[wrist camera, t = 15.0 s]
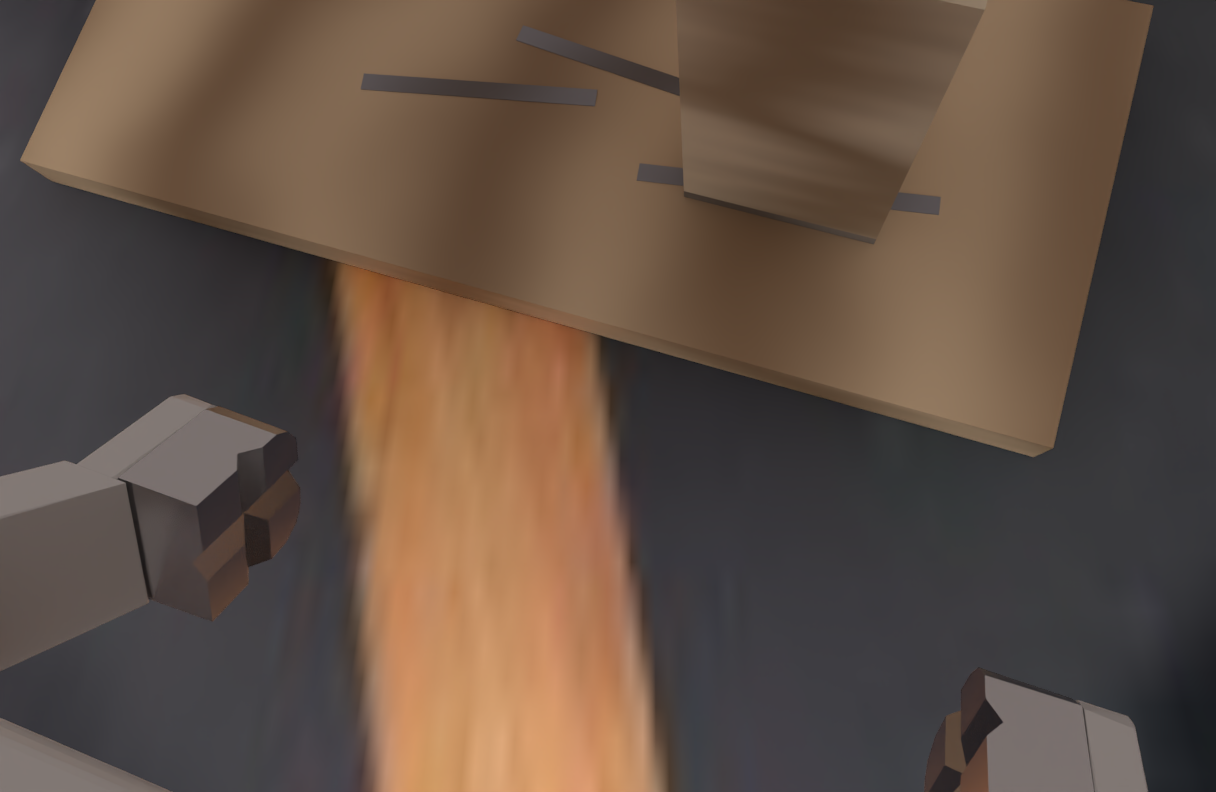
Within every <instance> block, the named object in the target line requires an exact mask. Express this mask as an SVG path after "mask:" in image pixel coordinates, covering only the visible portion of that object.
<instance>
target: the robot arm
mask: <svg viewBox="0 0 1216 792" xmlns="http://www.w3.org/2000/svg"><path fill="white" fill-rule="evenodd" d="M297 461H298V450H297V441H296V437H294V436H293V435H291V434H290V433H289V432H287V431H285V430H282V429H279V428H276V427H274V426H271V425H268V424H266V423H263V422H260V421H258V420H255V419H252V418H250V417H247V416H244V415H241V414H239V413H236V412H233V411H231V410H228V409H225V408H223V407H220V406H218V407H217V406H214V405H212V404H209V403H206V402H204V401H201V400H199V399H196V398H193V397H191V396H188V395H185V394H182V395H176V396H171V397H169V398H168V399H166V400H165V401H163V402H162V403H161V404H159V405H158V406H157V407H155V408H154V409H152V410H151V411H150V412H148V413H147V414H145V415H144V416H143V417H141V418H140V419H139V420H137V421H136V422H134V423H133V424H132V425H130V426H129V427H127V428H126V429H125V430H123V431H122V432H121V433H119V434H118V435H116V436H115V437H114V438H112V439H111V440H109V441H108V442H107V443H105V444H104V445H103V446H101V447H100V448H98V449H97V450H96V451H94V452H93V453H91V454H90V455H89V456H87V457H86V458H85V459H83V460H82V461H80V462H79V463H78V464H74V463H71V462H68V461H62V462H58V463H54V464H50V465H46V466H41V467H37V468H33V469H29V470H25V471H21V472H17V473H13V474H9V475H5V476H1V477H0V671H2V670H4V669H6V668H8V667H10V666H13V665H15V664H17V663H19V662H21V661H24V660H26V659H28V658H30V657H32V656H34V655H37V654H39V653H41V652H43V651H45V650H48V649H50V648H52V647H54V646H56V645H58V644H61V643H63V642H65V641H67V640H69V639H72V638H74V637H76V636H78V635H80V634H82V633H85V632H87V631H89V630H91V629H93V628H95V627H98V626H100V625H102V624H104V623H106V622H109V621H111V620H113V619H115V618H117V617H119V616H122V615H124V614H126V613H128V612H130V611H133V610H135V609H137V608H139V607H141V606H143V605H146V604H148V602H149V600H148V599H150V600H153V601H156V602H159V603H161V604H164V605H167V606H170V607H173V608H175V609H178V610H181V611H184V612H187V613H189V614H192V615H195V616H198V617H201V618H204V619H206V620H209V621H212V622H213V621H214V620H215V618H216V617H217V616H218V615H219V614H220V613H221V612H222V611H223V610H224V609H225V608H226V607H227V606H228V605H229V604H230V603H231V601H232V600H233V599H234V598H235V597H236V596H237V595H238V594H239V593H240V592H241V591H242V590H243V589H244V588H245V587H246V586H247V584H248V577H249V567H250V566H253V565H255V564H258V563H261V562H264V561H267V560H269V559H272V558H273V556H274V555H275V554H276V553H277V552H278V551H279V550H280V549H281V548H282V546H283V545H284V544H285V543H286V541H287V539H288V538H289V536H290V534H291V532H292V530H293V528H294V526H295V524H296V522H297V518H298V513H299V508H300V487H299V486H298V484H297V483H296V481H295V479H294V478H293V476H292V475H291V473H290V472H289V470H288V469H289V468H290V467H291V466H292V465H293V464H294V463H295V462H297ZM0 792H172V791H169V790H167V789H165V788H162V787H160V786H158V785H155V784H153V783H151V782H148V781H146V780H144V779H141V778H139V777H137V776H134V775H132V774H130V773H127V772H125V771H123V770H120V769H118V768H116V767H113V766H111V765H109V764H106V763H104V762H102V761H100V760H97V759H95V758H93V757H90V756H88V755H86V754H83V753H81V752H79V751H76V750H74V749H72V748H69V747H67V746H65V745H62V744H60V743H58V742H55V741H53V740H51V739H48V738H46V737H44V736H41V735H39V734H37V733H34V732H32V731H30V730H28V729H25V728H23V727H21V726H18V725H16V724H14V723H11V722H9V721H7V720H4V719H2V718H0ZM924 792H1148V788H1147V783H1146V778H1145V774H1144V769H1143V764H1142V759H1141V754H1140V749H1139V744H1138V739H1137V734H1136V729H1135V725H1134V724H1133V723H1132V721H1131V720H1130V718H1129V717H1128V716H1125V715H1122V714H1119V713H1116V712H1113V711H1110V710H1107V709H1104V708H1101V707H1098V706H1095V705H1092V704H1089V703H1086V702H1083V701H1079V700H1073V699H1072V698H1069V697H1066V696H1063V695H1060V694H1057V693H1054V692H1051V691H1048V690H1045V689H1042V688H1039V687H1036V686H1033V685H1030V684H1027V683H1024V682H1021V681H1018V680H1015V679H1012V678H1009V677H1006V676H1003V675H1000V674H997V673H994V672H991V671H988V670H985V669H982V668H979V667H978V668H977V669H976V670H975V671H973V672H972V673H971V674H970V676H969V677H968V679H967V681H966V682H965V684H964V686H963V687H962V689H961V711H958V712H955V713H953V714H950V715H947V716H946V717H945V719H944V721H943V723H942V724H941V726H940V728H939V730H938V732H937V734H936V736H935V739H934V742H933V745H932V748H931V752H930V755H929V758H928V763H927V769H926V775H925V787H924Z"/></svg>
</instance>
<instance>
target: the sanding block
mask: <svg viewBox="0 0 1216 792" xmlns="http://www.w3.org/2000/svg"><path fill="white" fill-rule="evenodd" d="M986 4H987V0H676V15H677V39H678V63H679V87H680V111H681V135H682V159H683V183H684V197H687V198H691V199H695V200H699V201H703V202H707V203H711V204H715V205H719V206H723V207H727V208H731V209H735V210H739V211H743V212H747V213H751V214H755V215H759V216H763V217H767V218H771V219H775V220H779V221H783V222H787V223H791V224H795V225H799V226H803V227H807V228H811V229H815V230H819V231H822V232H826V233H830V234H834V235H838V236H842V237H846V238H850V239H854V240H858V241H862V242H866V243H870V244H874V243H875V241H876V239H877V237H878V234H879V232H880V230H881V228H882V226H883V224H884V222H885V220H886V218H887V216H888V213H889V211H890V209H891V207H892V205H893V203H894V201H895V199H896V197H897V194H898V192H899V190H900V188H901V186H902V184H903V182H904V180H905V178H906V175H907V173H908V171H909V169H910V167H911V165H912V163H913V161H914V159H915V156H916V154H917V152H918V150H919V148H920V146H921V144H922V142H923V140H924V137H925V135H926V133H927V131H928V129H929V127H930V125H931V123H932V121H933V118H934V116H935V114H936V112H937V110H938V108H939V106H940V104H941V102H942V99H943V97H944V95H945V93H946V91H947V89H948V87H949V85H950V83H951V80H952V78H953V76H954V74H955V72H956V70H957V68H958V66H959V64H960V61H961V59H962V57H963V55H964V53H965V51H966V49H967V47H968V45H969V43H970V40H971V38H972V36H973V34H974V32H975V30H976V28H977V26H978V24H979V21H980V19H981V17H982V15H983V13H984V11H985V8H986Z"/></svg>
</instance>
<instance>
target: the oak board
mask: <svg viewBox="0 0 1216 792" xmlns="http://www.w3.org/2000/svg"><path fill="white" fill-rule="evenodd" d="M1153 7H1154V6H1152V5H1147V4H1142V3H1137V2H1132V1H1128V0H987V4H986V8H985V11H984V13H983V15H982V17H981V19H980V21H979V24H978V26H977V28H976V30H975V32H974V34H973V36H972V38H971V40H970V43H969V45H968V47H967V49H966V51H965V53H964V55H963V57H962V59H961V61H960V64H959V66H958V68H957V70H956V72H955V74H954V76H953V78H952V80H951V83H950V85H949V87H948V89H947V91H946V93H945V95H944V97H943V99H942V102H941V104H940V106H939V108H938V110H937V112H936V114H935V116H934V118H933V121H932V123H931V125H930V127H929V129H928V131H927V133H926V135H925V137H924V140H923V142H922V144H921V146H920V148H919V150H918V152H917V154H916V156H915V159H914V161H913V163H912V165H911V167H910V169H909V171H908V173H907V175H906V178H905V180H904V182H903V184H902V186H901V188H900V190H899V192H898V194H897V197H896V199H895V201H894V203H893V205H892V207H891V209H890V211H889V213H888V216H887V218H886V220H885V222H884V224H883V226H882V228H881V230H880V232H879V234H878V237H877V239H876V241H875V243H874V244H870V243H866V242H862V241H858V240H854V239H850V238H846V237H842V236H838V235H834V234H830V233H826V232H822V231H819V230H815V229H811V228H807V227H803V226H799V225H795V224H791V223H787V222H783V221H779V220H775V219H771V218H767V217H763V216H759V215H755V214H751V213H747V212H743V211H739V210H735V209H731V208H727V207H723V206H719V205H715V204H711V203H707V202H703V201H699V200H695V199H691V198H687V197H684V183H683V159H682V135H681V111H680V87H679V63H678V39H677V15H676V0H96V2H95V4H94V6H93V8H92V10H91V12H90V14H89V16H88V18H87V20H86V23H85V25H84V27H83V29H82V31H81V33H80V35H79V37H78V39H77V42H76V44H75V46H74V48H73V50H72V52H71V54H70V56H69V58H68V61H67V63H66V65H65V67H64V69H63V71H62V73H61V75H60V77H59V80H58V82H57V84H56V86H55V88H54V90H53V92H52V94H51V96H50V98H49V101H48V103H47V105H46V107H45V109H44V111H43V113H42V115H41V117H40V120H39V122H38V124H37V126H36V128H35V130H34V132H33V134H32V136H31V139H30V141H29V143H28V145H27V147H26V149H25V151H24V153H23V155H22V157H21V160H20V161H22V162H23V163H25V164H26V165H28V166H29V167H31V168H32V169H34V170H35V171H37V172H39V173H40V174H42V175H43V176H45V177H46V178H48V179H49V180H51V181H53V182H56V183H60V184H63V185H67V186H70V187H74V188H78V189H81V190H85V191H88V192H92V193H95V194H99V195H102V196H106V197H110V198H113V199H117V200H120V201H124V202H127V203H131V204H134V205H138V206H142V207H145V208H149V209H152V210H156V211H159V212H163V213H166V214H170V215H174V216H177V217H181V218H184V219H188V220H191V221H195V222H199V223H202V224H206V225H209V226H213V227H216V228H220V229H223V230H227V231H231V232H234V233H238V234H241V235H245V236H248V237H252V238H255V239H259V240H263V241H266V242H270V243H273V244H277V245H280V246H284V247H287V248H291V249H295V250H298V251H302V252H305V253H309V254H312V255H316V256H319V257H323V258H327V259H330V260H334V261H337V262H341V263H344V264H348V265H352V266H355V267H359V268H362V269H366V270H369V271H373V272H376V273H380V274H384V275H387V276H391V277H394V278H398V279H401V280H405V281H408V282H412V283H416V284H419V285H423V286H426V287H430V288H433V289H437V290H440V291H444V292H448V293H451V294H455V295H458V296H462V297H465V298H469V299H472V300H476V301H480V302H483V303H487V304H490V305H494V306H497V307H501V308H505V309H508V310H512V311H515V312H519V313H522V314H526V315H529V316H533V317H537V318H540V319H544V320H547V321H551V322H554V323H558V324H561V325H565V326H569V327H572V328H576V329H579V330H583V331H586V332H590V333H593V334H597V335H601V336H604V337H608V338H611V339H615V340H618V341H622V342H625V343H629V344H633V345H636V346H640V347H643V348H647V349H650V350H654V351H658V352H661V353H665V354H668V355H672V356H675V357H679V358H682V359H686V360H690V361H693V362H697V363H700V364H704V365H707V366H711V367H714V368H718V369H722V370H725V371H729V372H732V373H736V374H739V375H743V376H746V377H750V378H754V379H757V380H761V381H764V382H768V383H771V384H775V385H778V386H782V387H786V388H789V389H793V390H796V391H800V392H803V393H807V394H811V395H814V396H818V397H821V398H825V399H828V400H832V401H835V402H839V403H843V404H846V405H850V406H853V407H857V408H860V409H864V410H867V411H871V412H875V413H878V414H882V415H885V416H889V417H892V418H896V419H899V420H903V421H907V422H910V423H914V424H917V425H921V426H924V427H928V428H931V429H935V430H939V431H942V432H946V433H949V434H953V435H956V436H960V437H964V438H967V439H971V440H974V441H978V442H981V443H985V444H988V445H992V446H996V447H999V448H1003V449H1006V450H1010V451H1013V452H1017V453H1020V454H1024V455H1028V456H1031V457H1035V456H1037V455H1039V454H1042V453H1044V452H1046V451H1048V450H1050V449H1053V447H1054V442H1055V438H1056V434H1057V429H1058V425H1059V420H1060V416H1061V412H1062V407H1063V403H1064V398H1065V394H1066V390H1067V385H1068V381H1069V376H1070V372H1071V367H1072V363H1073V359H1074V354H1075V350H1076V345H1077V341H1078V337H1079V332H1080V328H1081V323H1082V319H1083V315H1084V310H1085V306H1086V301H1087V297H1088V293H1089V288H1090V284H1091V279H1092V275H1093V271H1094V266H1095V262H1096V257H1097V253H1098V249H1099V244H1100V240H1101V235H1102V231H1103V227H1104V222H1105V218H1106V213H1107V209H1108V205H1109V200H1110V196H1111V191H1112V187H1113V183H1114V178H1115V174H1116V169H1117V165H1118V161H1119V156H1120V152H1121V147H1122V143H1123V139H1124V134H1125V130H1126V125H1127V121H1128V117H1129V112H1130V108H1131V103H1132V99H1133V95H1134V90H1135V86H1136V81H1137V77H1138V73H1139V68H1140V64H1141V59H1142V55H1143V51H1144V46H1145V42H1146V37H1147V33H1148V29H1149V24H1150V20H1151V15H1152V11H1153Z"/></svg>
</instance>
